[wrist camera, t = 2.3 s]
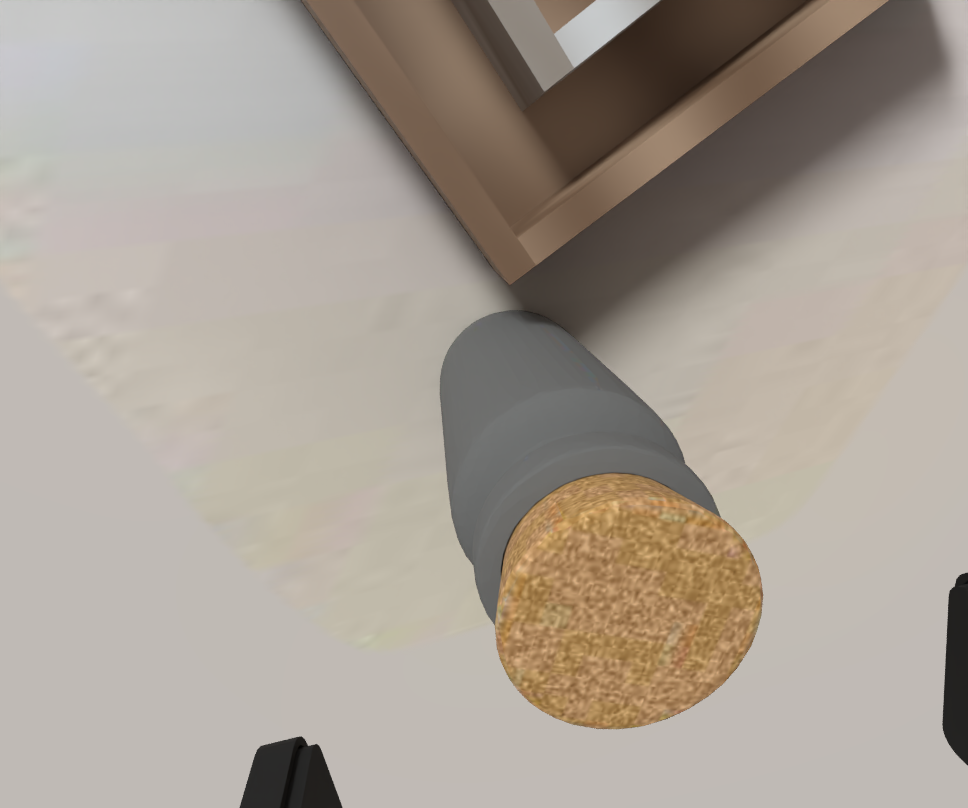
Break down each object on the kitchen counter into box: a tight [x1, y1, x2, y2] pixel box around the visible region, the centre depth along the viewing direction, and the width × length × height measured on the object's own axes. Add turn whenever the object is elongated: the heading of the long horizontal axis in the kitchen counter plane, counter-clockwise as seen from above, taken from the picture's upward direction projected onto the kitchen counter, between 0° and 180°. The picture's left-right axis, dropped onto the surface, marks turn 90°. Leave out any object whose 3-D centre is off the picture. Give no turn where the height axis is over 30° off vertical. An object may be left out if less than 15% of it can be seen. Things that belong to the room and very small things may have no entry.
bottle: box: [440, 311, 763, 729], centre depth 18 cm, size 6×6×15 cm
